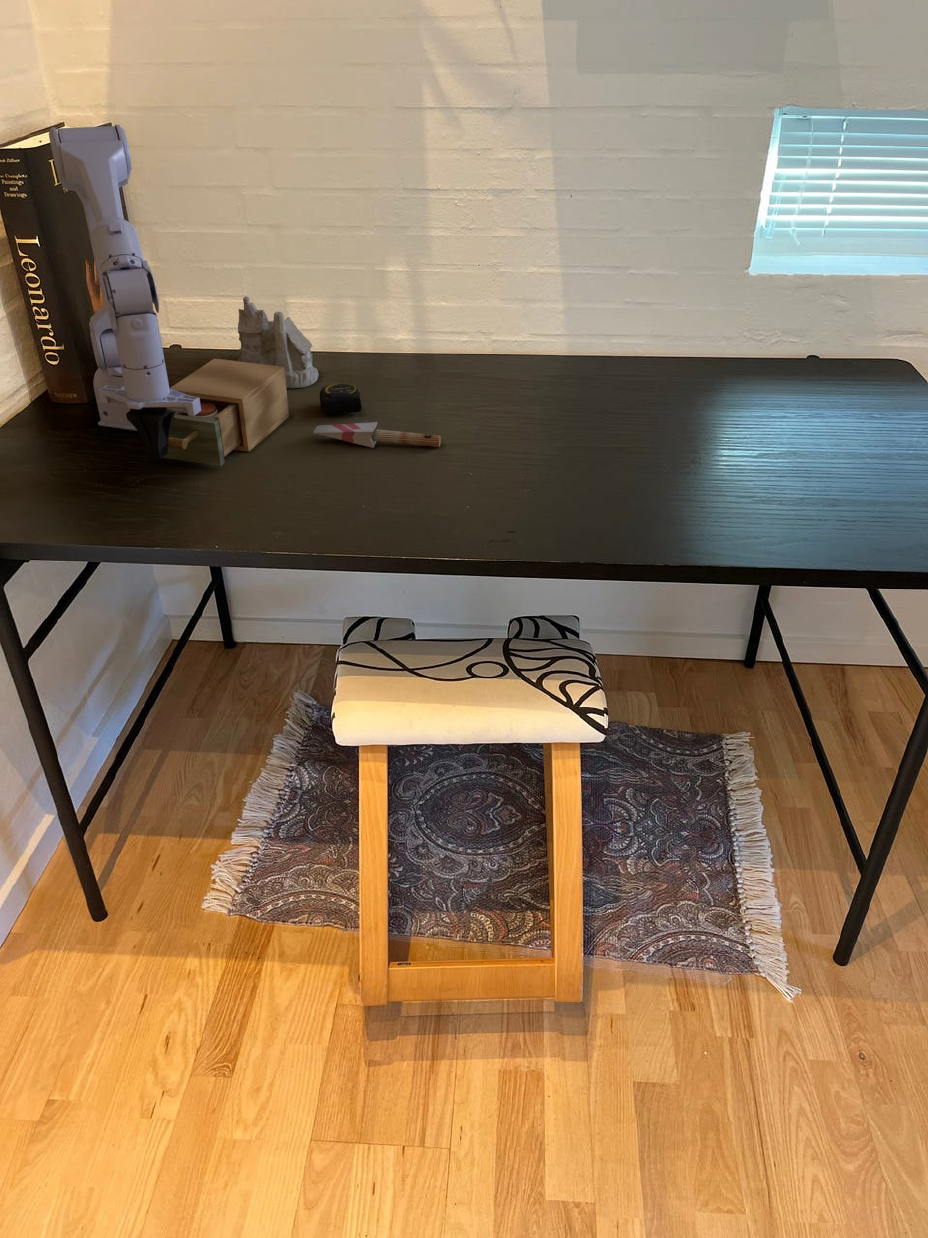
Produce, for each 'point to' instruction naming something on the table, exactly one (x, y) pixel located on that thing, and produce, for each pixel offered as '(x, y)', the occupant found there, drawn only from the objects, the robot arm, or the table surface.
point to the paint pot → (207, 411)
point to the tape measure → (340, 399)
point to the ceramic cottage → (275, 345)
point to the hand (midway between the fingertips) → (159, 455)
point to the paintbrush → (374, 435)
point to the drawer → (205, 435)
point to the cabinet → (243, 394)
